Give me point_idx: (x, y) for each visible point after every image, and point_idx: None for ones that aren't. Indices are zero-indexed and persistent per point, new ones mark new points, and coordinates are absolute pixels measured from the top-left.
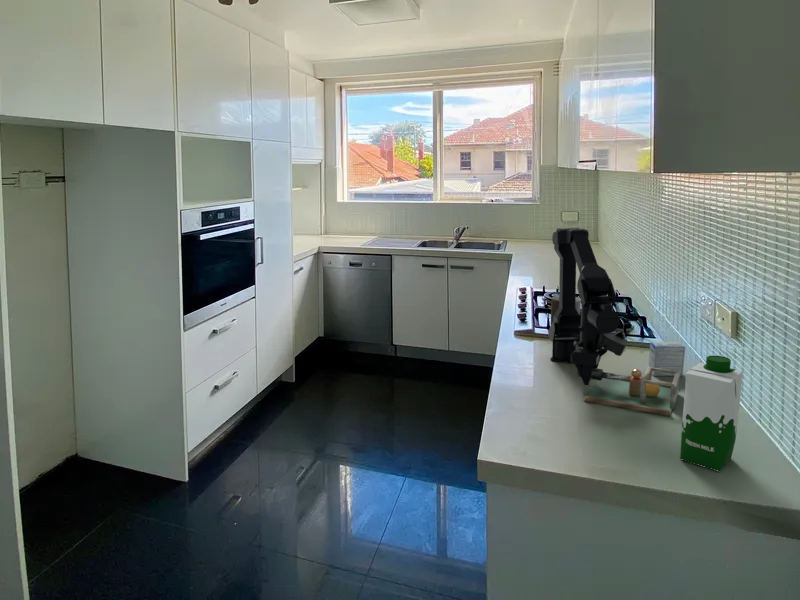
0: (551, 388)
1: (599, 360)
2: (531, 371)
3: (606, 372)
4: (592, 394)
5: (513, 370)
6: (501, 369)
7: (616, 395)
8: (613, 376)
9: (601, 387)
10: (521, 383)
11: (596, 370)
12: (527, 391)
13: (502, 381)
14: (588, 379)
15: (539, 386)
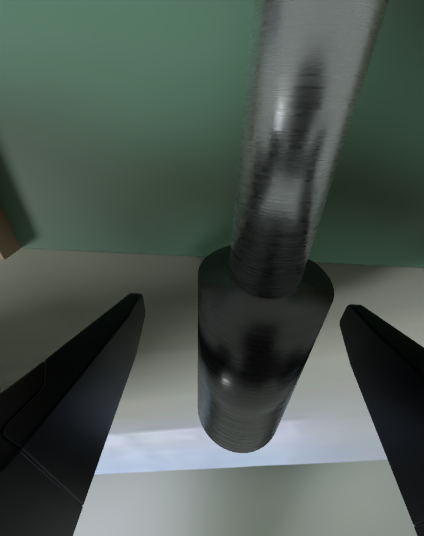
0: (303, 385)
1: (32, 404)
2: (156, 433)
3: (268, 253)
4: (380, 246)
5: (176, 455)
6: (185, 467)
7: (396, 55)
8: (345, 129)
9: (230, 213)
10: (278, 437)
11: (301, 358)
12: (350, 423)
13: (277, 460)
14: (411, 346)
15: (291, 409)
